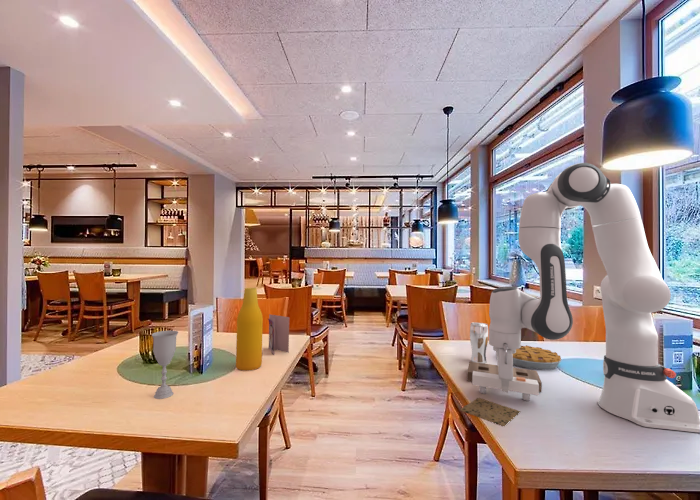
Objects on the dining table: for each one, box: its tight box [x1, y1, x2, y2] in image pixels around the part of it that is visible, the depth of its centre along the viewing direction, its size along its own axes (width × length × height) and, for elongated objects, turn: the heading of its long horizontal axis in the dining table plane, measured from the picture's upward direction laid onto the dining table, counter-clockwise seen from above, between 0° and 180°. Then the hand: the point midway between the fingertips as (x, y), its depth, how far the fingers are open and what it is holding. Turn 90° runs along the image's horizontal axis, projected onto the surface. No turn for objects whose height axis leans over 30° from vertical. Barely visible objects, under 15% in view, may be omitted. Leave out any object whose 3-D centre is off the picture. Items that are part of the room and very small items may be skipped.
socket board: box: [466, 361, 543, 393], centre depth 113 cm, size 22×12×3 cm, turn 67°
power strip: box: [471, 371, 540, 402], centre depth 100 cm, size 18×4×6 cm, turn 67°
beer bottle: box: [235, 287, 264, 372], centre depth 122 cm, size 9×9×29 cm
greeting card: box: [267, 314, 290, 356], centre depth 142 cm, size 11×7×15 cm, turn 25°
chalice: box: [151, 330, 179, 400], centre depth 96 cm, size 7×7×18 cm
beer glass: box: [469, 322, 489, 364], centre depth 133 cm, size 7×7×15 cm
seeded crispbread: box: [460, 397, 521, 427], centre depth 90 cm, size 12×12×1 cm
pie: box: [512, 345, 562, 371], centre depth 134 cm, size 22×22×5 cm
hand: (504, 385), depth 100 cm, fingers open, 8 cm apart
